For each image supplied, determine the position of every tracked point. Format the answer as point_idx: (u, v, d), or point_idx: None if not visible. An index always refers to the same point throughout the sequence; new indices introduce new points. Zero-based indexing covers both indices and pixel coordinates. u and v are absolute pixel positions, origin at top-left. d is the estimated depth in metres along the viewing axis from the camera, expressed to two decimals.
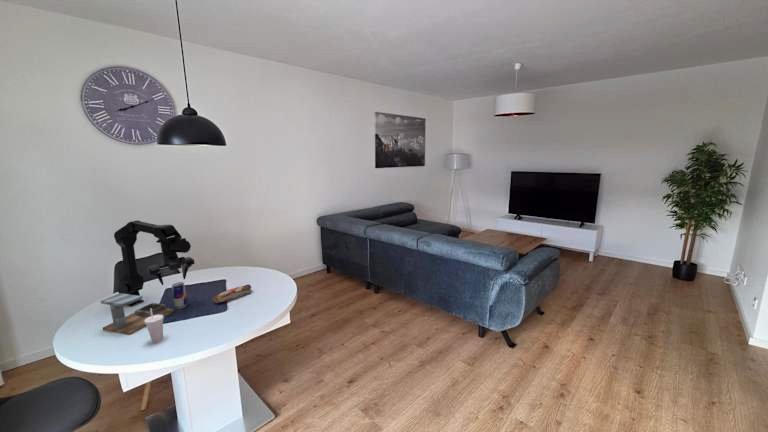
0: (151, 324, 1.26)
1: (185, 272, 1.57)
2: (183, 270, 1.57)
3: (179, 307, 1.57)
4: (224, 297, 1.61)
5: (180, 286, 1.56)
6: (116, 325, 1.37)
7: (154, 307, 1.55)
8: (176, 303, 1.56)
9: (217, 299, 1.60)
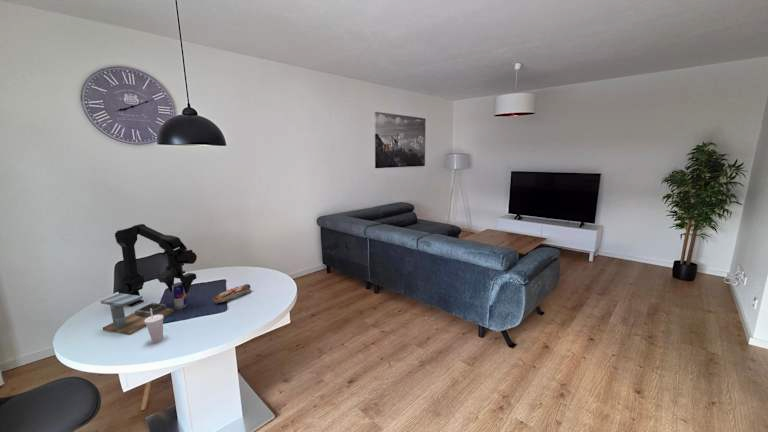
0: (151, 324, 1.26)
1: (184, 287, 1.55)
2: None
3: (179, 307, 1.57)
4: (225, 297, 1.61)
5: (180, 286, 1.56)
6: (116, 325, 1.37)
7: (154, 307, 1.55)
8: (176, 303, 1.56)
9: (218, 299, 1.60)
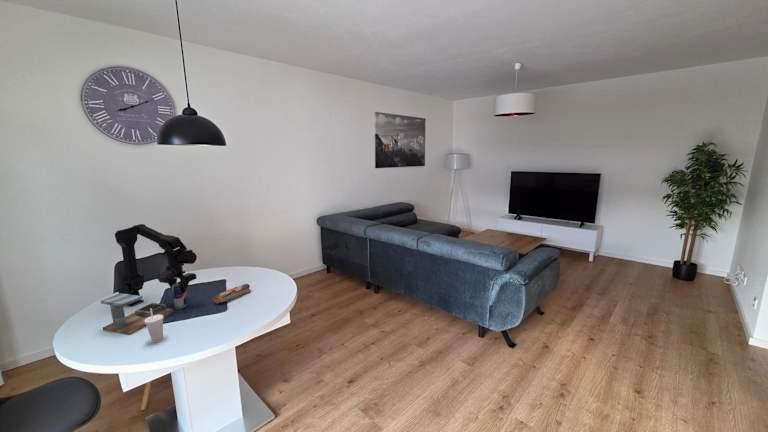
0: (151, 324, 1.26)
1: (181, 287, 1.55)
2: None
3: (179, 307, 1.57)
4: (225, 297, 1.61)
5: (180, 286, 1.56)
6: (116, 325, 1.37)
7: (154, 307, 1.55)
8: (176, 303, 1.56)
9: (219, 299, 1.59)
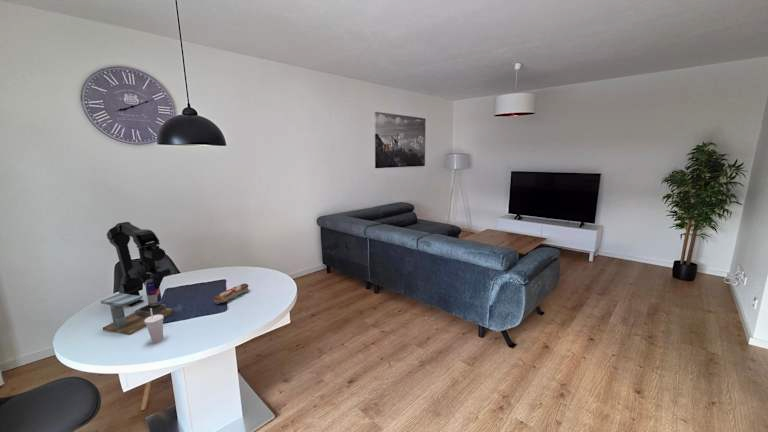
0: (151, 324, 1.26)
1: (155, 283, 1.48)
2: None
3: (152, 304, 1.50)
4: (227, 297, 1.61)
5: (153, 282, 1.49)
6: (116, 325, 1.37)
7: (154, 307, 1.55)
8: (149, 300, 1.49)
9: (220, 299, 1.59)
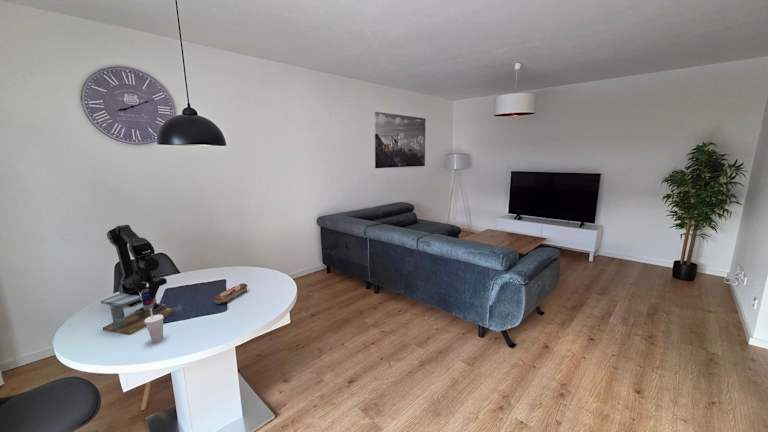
0: (151, 324, 1.26)
1: (150, 292, 1.48)
2: None
3: None
4: (227, 297, 1.62)
5: (149, 292, 1.48)
6: (116, 325, 1.37)
7: None
8: (145, 310, 1.49)
9: (221, 299, 1.59)
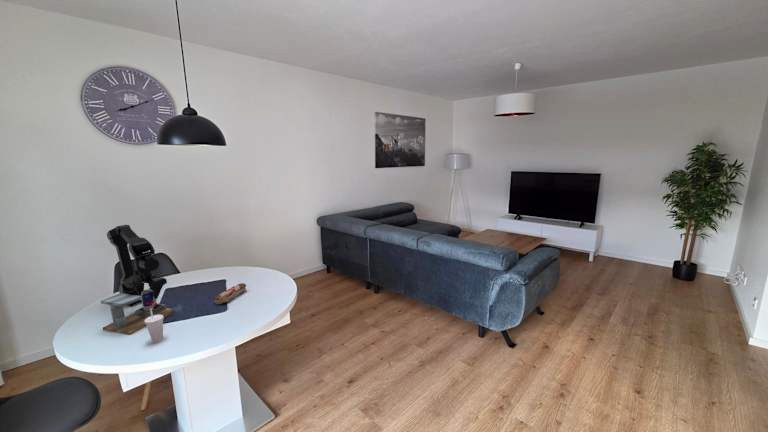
0: (151, 324, 1.26)
1: (153, 293, 1.47)
2: None
3: None
4: (228, 296, 1.62)
5: (149, 293, 1.48)
6: (116, 325, 1.37)
7: None
8: None
9: (222, 299, 1.59)
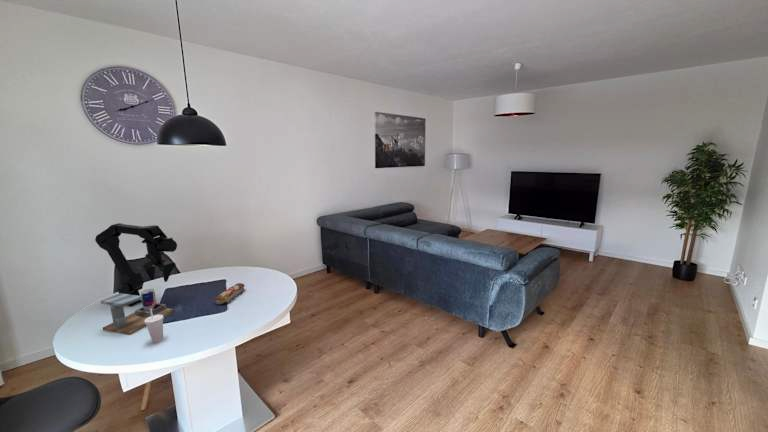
0: (151, 324, 1.26)
1: (163, 276, 1.56)
2: None
3: None
4: (229, 296, 1.62)
5: (149, 293, 1.48)
6: (116, 325, 1.37)
7: None
8: None
9: (224, 299, 1.59)
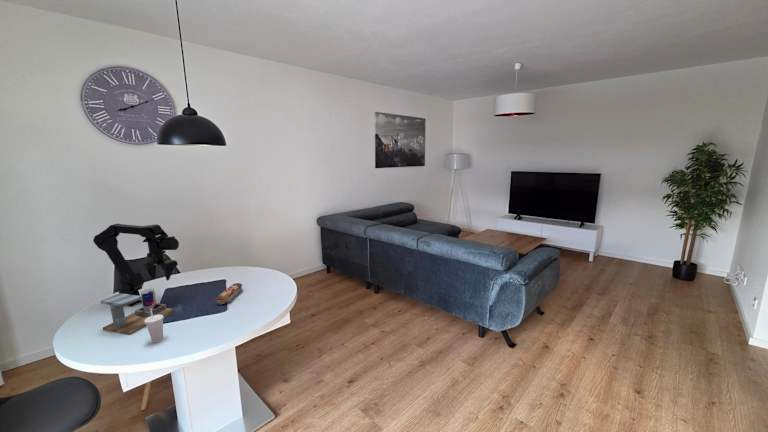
0: (151, 324, 1.26)
1: (165, 274, 1.58)
2: None
3: None
4: (230, 296, 1.62)
5: (149, 293, 1.48)
6: (116, 325, 1.37)
7: None
8: None
9: (225, 299, 1.60)
